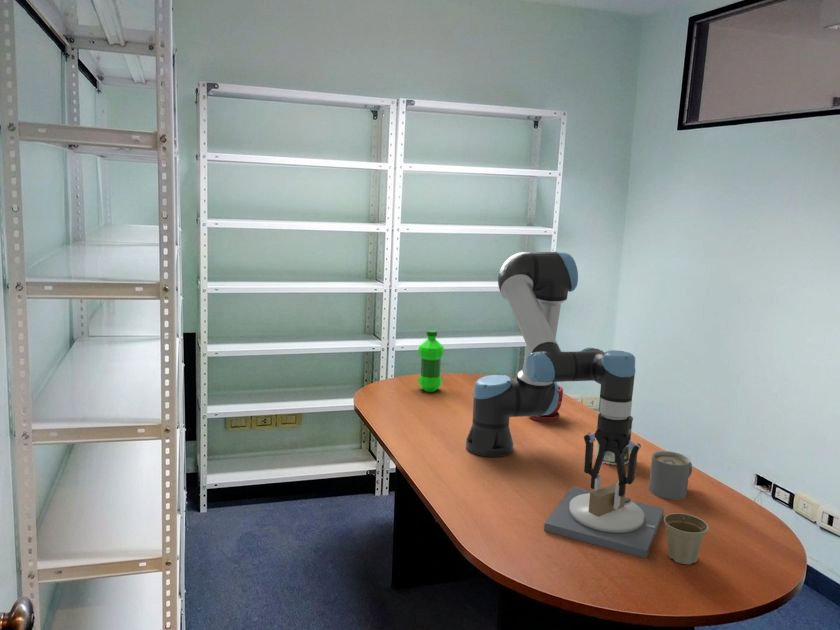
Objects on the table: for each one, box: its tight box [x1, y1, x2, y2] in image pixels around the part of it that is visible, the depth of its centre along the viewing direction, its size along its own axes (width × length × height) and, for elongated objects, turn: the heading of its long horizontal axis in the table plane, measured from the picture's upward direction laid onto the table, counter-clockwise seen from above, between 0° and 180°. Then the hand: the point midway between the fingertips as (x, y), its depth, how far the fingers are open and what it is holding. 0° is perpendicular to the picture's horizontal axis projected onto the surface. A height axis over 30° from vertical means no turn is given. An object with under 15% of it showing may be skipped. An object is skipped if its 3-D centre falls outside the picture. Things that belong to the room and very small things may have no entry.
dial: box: [569, 483, 644, 533], centre depth 163 cm, size 18×18×6 cm
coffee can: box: [594, 412, 634, 466], centre depth 204 cm, size 10×10×14 cm
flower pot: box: [663, 512, 709, 566], centre depth 149 cm, size 9×9×9 cm
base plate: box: [543, 486, 665, 560], centre depth 164 cm, size 24×24×2 cm
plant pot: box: [529, 385, 564, 423], centre depth 241 cm, size 13×13×12 cm
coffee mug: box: [648, 450, 693, 500], centre depth 183 cm, size 13×10×10 cm
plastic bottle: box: [417, 329, 445, 393], centre depth 270 cm, size 10×10×25 cm
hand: (606, 504), depth 163 cm, fingers closed on dial, 4 cm apart
